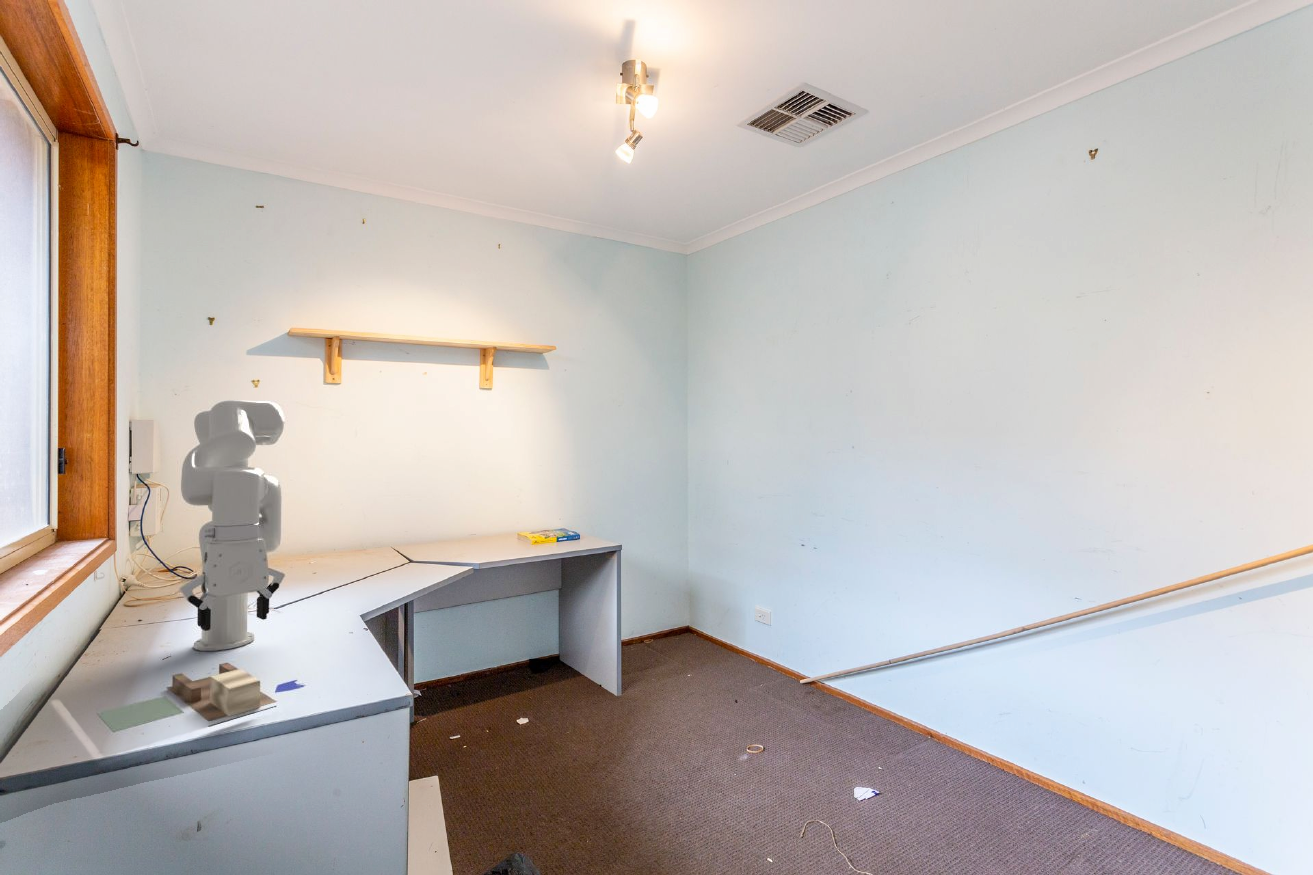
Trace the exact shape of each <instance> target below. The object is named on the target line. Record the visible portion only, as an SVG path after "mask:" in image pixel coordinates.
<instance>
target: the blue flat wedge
mask: <svg viewBox="0 0 1313 875" xmlns="http://www.w3.org/2000/svg"><path fill="white" fill-rule="evenodd" d="M296 682H298V679H295V680H290V681H287V682H282V683H281V684H280V683H279V684H277V685H276V687H275V691H274V693H275V694H277V693H283V692H288V691H290V692H291V691H294V690H298V689H299V690H300V689H301V688H304V687H305V686H306V684H301V683H296Z"/></svg>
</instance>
